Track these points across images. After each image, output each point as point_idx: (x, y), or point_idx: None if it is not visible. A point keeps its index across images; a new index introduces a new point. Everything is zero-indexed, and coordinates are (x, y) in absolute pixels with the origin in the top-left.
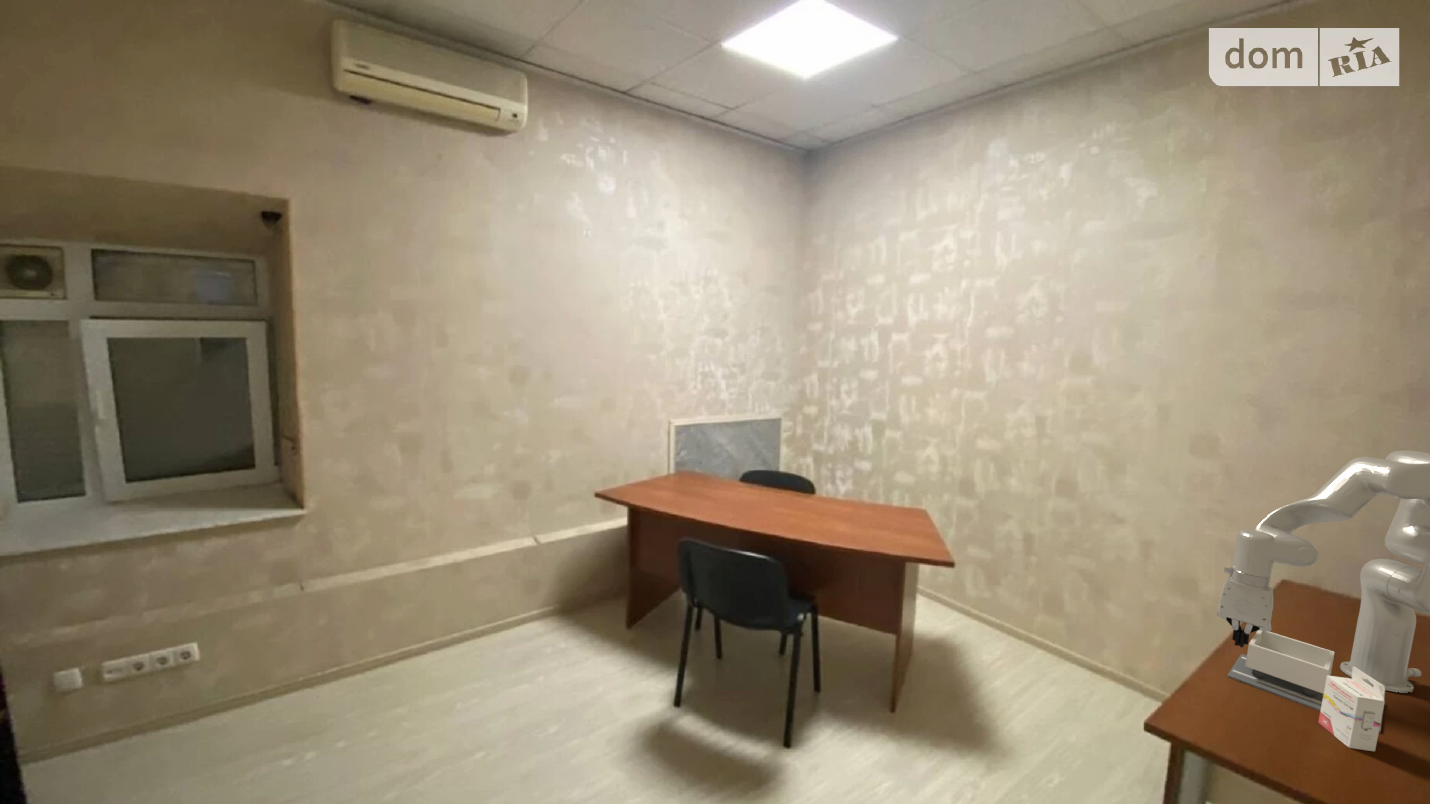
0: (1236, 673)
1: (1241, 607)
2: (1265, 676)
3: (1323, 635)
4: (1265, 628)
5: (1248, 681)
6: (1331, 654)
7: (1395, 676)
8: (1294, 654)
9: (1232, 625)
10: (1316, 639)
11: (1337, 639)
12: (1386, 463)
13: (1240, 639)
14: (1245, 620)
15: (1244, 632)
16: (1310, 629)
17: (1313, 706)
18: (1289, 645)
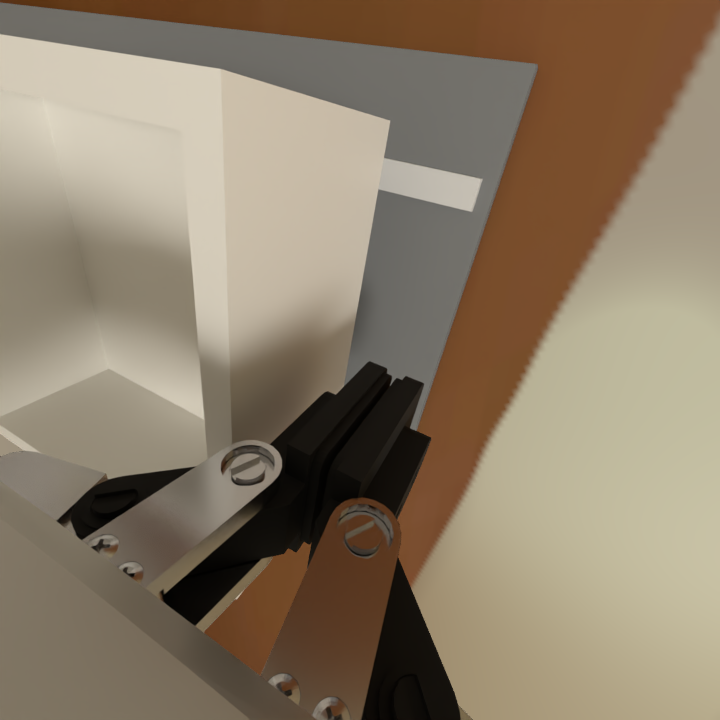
0: (458, 173)
1: None
2: None
3: (233, 641)
4: (19, 489)
5: (400, 82)
6: None
7: None
8: (166, 427)
9: (388, 569)
10: (239, 624)
11: (214, 628)
12: None
13: (359, 407)
14: (30, 624)
15: (290, 473)
16: (252, 662)
17: (142, 24)
18: (147, 466)
